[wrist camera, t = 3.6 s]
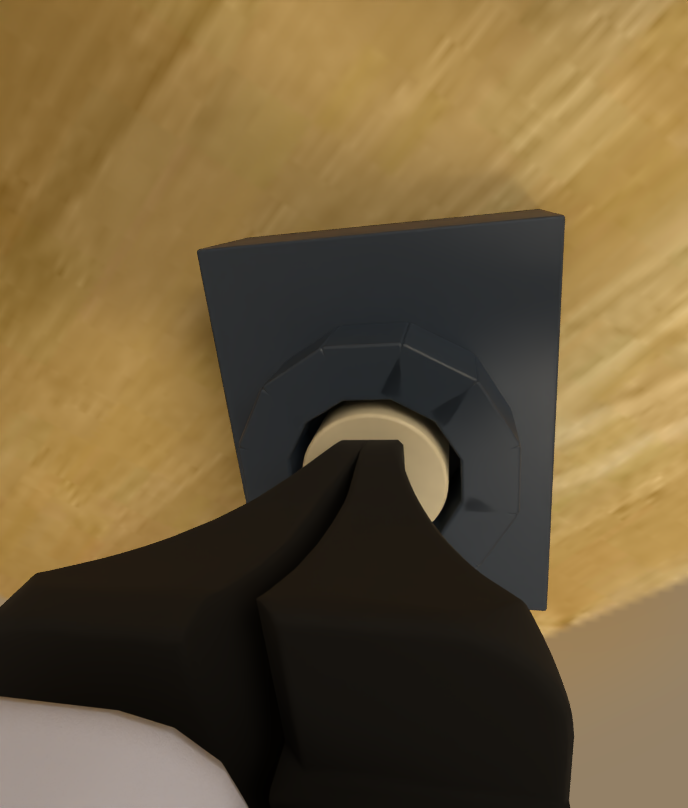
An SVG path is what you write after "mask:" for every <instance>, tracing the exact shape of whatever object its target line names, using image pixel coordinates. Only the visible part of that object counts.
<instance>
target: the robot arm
mask: <svg viewBox="0 0 688 808" xmlns="http://www.w3.org/2000/svg"><path fill="white" fill-rule="evenodd" d="M573 742H574V731H573V719H572V713H571V708H570V704H569V701H568V697H567V694H566V691H565V688H564V685H563V682H562V680H561V677H560V674H559V672H558V669H557V667H556V664H555V662H554V659H553V657H552V655H551V652H550V650H549V648H548V646H547V644H546V642H545V640H544V637H543V635H542V633H541V631H540V629H539V627H538V625H537V624H536V622H535V620H534V618H533V616H532V614H531V612H530V610H529V608H528V607H527V605H526V604H525V603H524V602H523V601H522V600H521V599H519V598H518V597H516V596H515V595H513V594H512V593H510V592H509V591H507V590H505V589H504V588H502V587H501V586H499V585H498V584H496V583H495V582H493V581H491V580H490V579H488V578H487V577H485V576H484V575H483V574H481V573H480V572H479V571H478V570H476V569H475V568H474V567H473V566H471V565H470V564H469V563H468V562H467V561H466V560H465V559H464V558H463V557H462V556H461V555H460V554H459V553H458V552H457V551H456V550H455V549H454V548H453V547H452V546H451V545H450V544H449V543H448V542H447V540H446V539H445V538H444V537H443V536H442V534H441V533H440V532H439V531H438V529H437V528H436V527H435V525H434V524H433V523H432V521H431V520H430V518H429V517H428V515H427V514H426V512H425V511H424V509H423V507H422V506H421V504H420V502H419V500H418V498H417V496H416V495H415V493H414V491H413V488H412V486H411V484H410V481H409V479H408V476H407V474H406V471H405V459H404V445H403V444H402V443H401V442H400V441H399V440H341V441H339V442H338V443H336V444H334V445H333V446H332V447H330V448H329V449H327V450H326V451H325V452H323V453H322V454H321V455H319V456H318V457H316V458H315V459H314V460H312V461H311V462H310V463H308V464H307V465H305V466H304V467H303V468H301V469H300V470H299V471H297V472H296V473H294V474H293V475H291V476H290V477H288V478H287V479H285V480H284V481H282V482H281V483H279V484H278V485H276V486H274V487H273V488H271V489H270V490H268V491H267V492H265V493H264V494H262V495H260V496H259V497H257V498H255V499H254V500H252V501H250V502H248V503H246V504H245V505H243V506H241V507H239V508H237V509H235V510H233V511H231V512H229V513H227V514H225V515H223V516H221V517H219V518H217V519H215V520H212V521H210V522H207V523H205V524H203V525H200V526H198V527H195V528H193V529H190V530H188V531H185V532H183V533H181V534H178V535H176V536H173V537H171V538H168V539H165V540H162V541H159V542H156V543H153V544H150V545H147V546H144V547H141V548H137V549H134V550H131V551H127V552H124V553H121V554H117V555H114V556H110V557H106V558H102V559H98V560H94V561H90V562H85V563H81V564H77V565H72V566H68V567H64V568H59V569H55V570H50V571H45V572H40V573H36V574H35V575H34V576H33V577H31V578H30V579H29V580H28V581H27V582H26V583H25V584H24V585H23V586H22V587H21V588H20V589H19V590H18V591H17V592H16V593H14V594H13V595H12V596H11V597H10V598H9V599H8V600H7V601H6V602H5V603H4V604H3V605H2V606H1V607H0V808H570V804H569V792H570V780H571V767H572V755H573Z"/></svg>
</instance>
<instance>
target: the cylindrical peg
mask: <svg viewBox="0 0 688 808" xmlns="http://www.w3.org/2000/svg"><path fill="white" fill-rule="evenodd" d="M341 440H399V441H400V442H401V443H402V444H403V445H404V459H405V471H406V474H407V476H408V479H409V481H410V484H411V486H412V488H413V491H414V493H415V495H416V496H417V498H418V500H419V502H420V504H421V506H422V507H423V509H424V511H425V512H426V514H427V515H428V517H429V518H430V520H431V521H432V522H433V521H434V520H435V519H436V517H437V516H438V515H439V513H440V512H441V510H442V508H443V506H444V504H445V501H446V498H447V493H448V483H449V442H448V440H447V439H446V437H445V436H444V435H443V433H442V432H441V430H440V429H439V427H438V426H437V424H436V423H435V422H434V421H433V420H431V419H429V418H427V417H425V416H423V415H421V414H419V413H416V412H414V411H412V410H410V409H408V408H406V407H404V406H402V405H400V404H398V403H396V402H394V401H392V400H353V401H342V402H340V403H339V404H337V405H335V406H334V407H332V408H331V409H330V410H329V411H328V413H327V414H326V416H325V418H324V420H323V422H322V423H321V425H320V427H319V429H318V430H317V432H316V434H315V436H314V437H313V439H312V441H311V443H310V444H309V446H308V448H307V451H306V453H305V456H304V461H303V467H304V466H305V465H307V464H308V463H310V462H311V461H312V460H314V459H315V458H316V457H318V456H319V455H321V454H322V453H323V452H325V451H326V450H327V449H329V448H330V447H332V446H333V445H334V444H336V443H338V442H339V441H341Z"/></svg>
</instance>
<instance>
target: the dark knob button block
mask: <svg viewBox="0 0 688 808" xmlns="http://www.w3.org/2000/svg"><path fill="white" fill-rule="evenodd" d="M564 230H565V217H564V215H560V214H556V213H552V212H549V211H545V210H541V209H536V210H525V211H515V212H505V213H495V214H485V215H474V216H464V217H454V218H444V219H434V220H424V221H413V222H403V223H393V224H383V225H373V226H362V227H352V228H342V229H332V230H322V231H312V232H301V233H291V234H281V235H271V236H261V237H250V238H244V239H240V240H236V241H232V242H228V243H223V244H219V245H215V246H211V247H207V248H203V249H199V250H197V255H198V260H199V265H200V270H201V275H202V280H203V285H204V290H205V296H206V301H207V306H208V311H209V316H210V321H211V326H212V331H213V336H214V341H215V346H216V351H217V357H218V362H219V367H220V372H221V377H222V382H223V387H224V392H225V397H226V402H227V407H228V412H229V417H230V423H231V428H232V433H233V438H234V443H235V448H236V453H237V458H238V463H239V468H240V473H241V478H242V483H243V489H244V494H245V499H246V503H248V502H250V501H252V500H254V499H255V498H257V497H259V496H260V495H262V494H264V493H265V492H267V491H268V490H270V489H271V488H273V487H274V486H276V485H278V484H279V483H281V482H282V481H284V480H285V479H287V478H288V477H290V476H291V475H293V474H294V473H296V472H297V471H299V470H300V469H301V468H303V461H304V456H305V453H306V451H307V448H308V446H309V444H310V443H311V441H312V439H313V437H314V436H315V434H316V432H317V430H318V429H319V427H320V425H321V423H322V422H323V420H324V418H325V416H326V414H327V413H328V411H329V410H330V409H331V408H332V407H334V406H335V405H337V404H339V403H340V402H342V401H353V400H392V401H394V402H396V403H398V404H400V405H402V406H404V407H406V408H408V409H410V410H412V411H414V412H416V413H419V414H421V415H423V416H425V417H427V418H429V419H431V420H433V421H434V422H435V423H436V424H437V426H438V427H439V429H440V430H441V432H442V433H443V435H444V436H445V437H446V439H447V440H448V442H449V483H448V493H447V498H446V501H445V504H444V506H443V508H442V510H441V512H440V513H439V515H438V516H437V517H436V519H435V520H434V521H433V522H432V523H433V524H434V525H435V527H436V528H437V529H438V531H439V532H440V533H441V534H442V536H443V537H444V538H445V539H446V540H447V542H448V543H449V544H450V545H451V546H452V547H453V548H454V549H455V550H456V551H457V552H458V553H459V554H460V555H461V556H462V557H463V558H464V559H465V560H466V561H467V562H468V563H469V564H470V565H471V566H473V567H474V568H475V569H476V570H478V571H479V572H480V573H481V574H483V575H484V576H485V577H487V578H488V579H490V580H491V581H493V582H495V583H496V584H498V585H499V586H501V587H502V588H504V589H505V590H507V591H509V592H510V593H512V594H513V595H515V596H516V597H518V598H519V599H521V600H522V601H523V602H524V603H525V604H526V605H527V607H528V608H529V610H541V611H545V610H546V609H547V591H548V570H549V549H550V528H551V506H552V485H553V464H554V442H555V421H556V400H557V379H558V357H559V336H560V315H561V294H562V272H563V251H564Z"/></svg>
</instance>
